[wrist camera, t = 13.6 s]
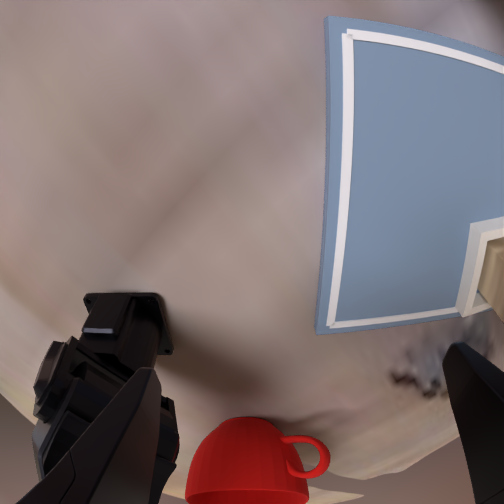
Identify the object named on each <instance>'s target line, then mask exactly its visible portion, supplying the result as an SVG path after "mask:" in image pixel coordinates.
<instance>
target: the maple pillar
mask: <svg viewBox="0 0 504 504" xmlns="http://www.w3.org/2000/svg"><path fill="white" fill-rule="evenodd" d="M477 289H478V290H479V291H480V293H481V294H482V295H483V296H484V298H485V299H486V300H487V302H488V303H489V304H490V306H491V307H492V308H493V309H494V311H495V312H496V314H497V315H498V316H499V318H500V319H501V320H502V322H503V323H504V237H501V238H497V239H493V240H489V241H487V246H486V251H485V256H484V261H483V266H482V270H481V275H480V279H479V283H478V287H477Z"/></svg>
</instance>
